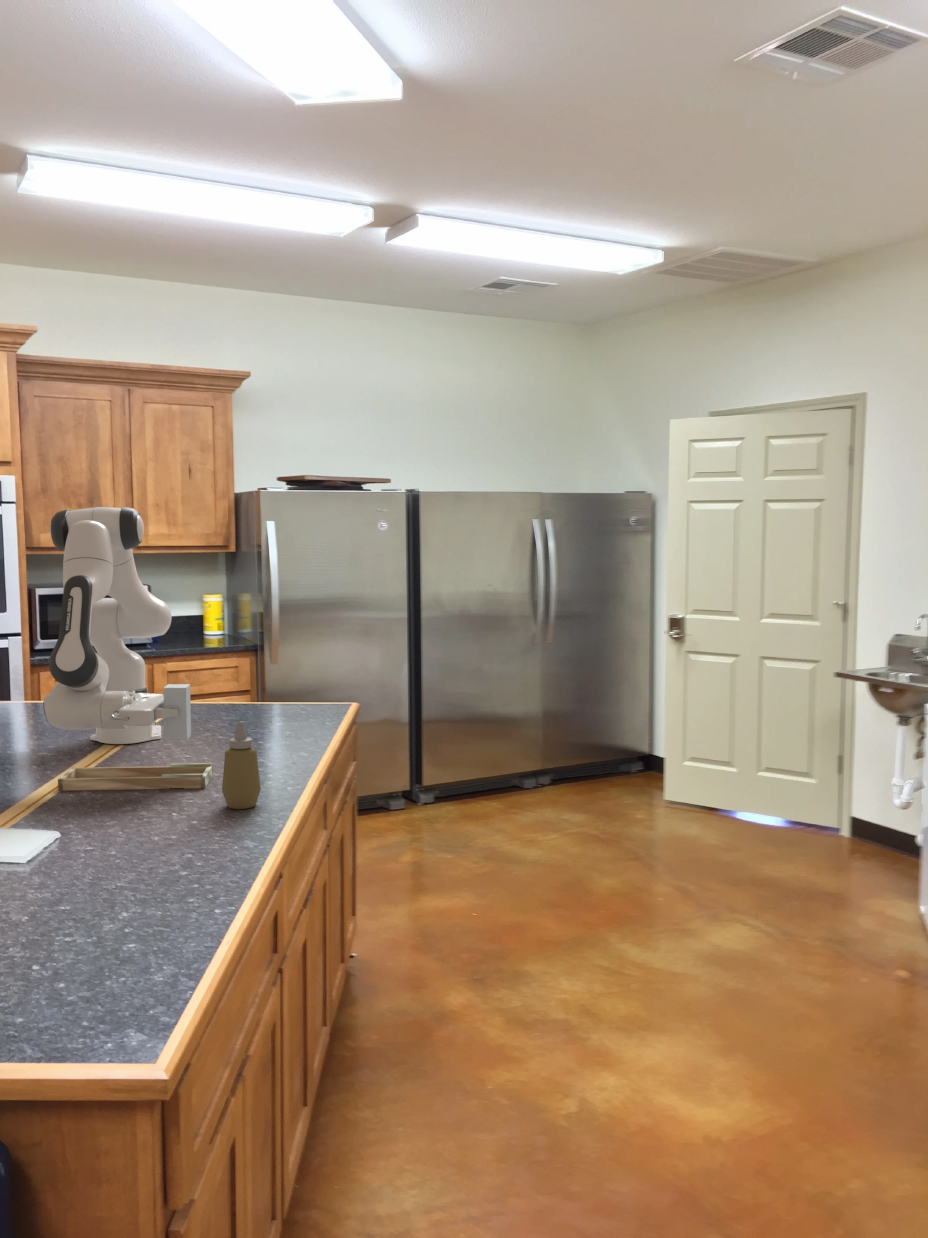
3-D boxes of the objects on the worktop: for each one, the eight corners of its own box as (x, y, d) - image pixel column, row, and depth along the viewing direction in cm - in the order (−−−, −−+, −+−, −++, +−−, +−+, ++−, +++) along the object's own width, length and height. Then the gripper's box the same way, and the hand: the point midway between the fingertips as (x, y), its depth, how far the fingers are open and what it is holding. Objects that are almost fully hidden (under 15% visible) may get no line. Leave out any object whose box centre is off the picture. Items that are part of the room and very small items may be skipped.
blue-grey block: (168, 735, 230) (168, 684, 229) (191, 735, 230) (190, 684, 229) (164, 740, 225) (163, 687, 224) (186, 740, 225) (186, 687, 224)
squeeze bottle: (268, 803, 212) (267, 719, 211) (248, 813, 205) (247, 727, 203) (235, 799, 215) (234, 717, 213) (214, 809, 207) (212, 724, 206)
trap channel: (73, 778, 232) (72, 765, 232) (212, 775, 235) (212, 763, 235) (58, 790, 221) (57, 777, 221) (205, 788, 224) (204, 774, 224)
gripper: (106, 704, 215) (171, 704, 216) (129, 689, 236) (189, 688, 237) (107, 733, 216) (172, 732, 217) (130, 715, 236) (189, 714, 237)
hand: (181, 709), depth 227 cm, fingers closed on blue-grey block, 5 cm apart
